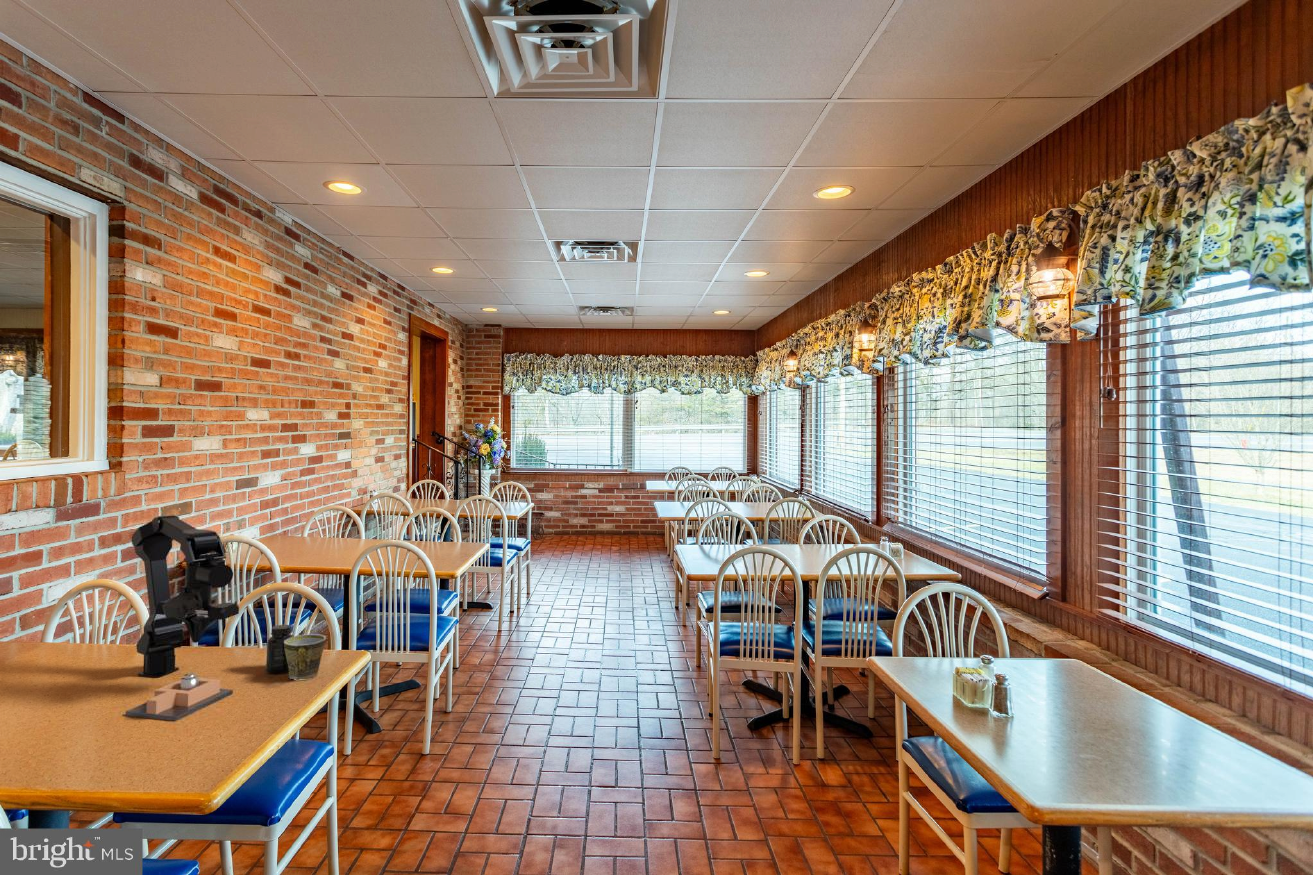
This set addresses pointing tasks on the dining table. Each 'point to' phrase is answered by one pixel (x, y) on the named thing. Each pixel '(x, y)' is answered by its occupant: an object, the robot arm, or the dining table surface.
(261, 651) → the dining table surface
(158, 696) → the square ring with tab
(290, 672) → the ceramic cup
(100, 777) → the dining table surface
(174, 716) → the base with metal peg
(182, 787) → the dining table surface
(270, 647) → the supplement bottle
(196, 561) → the robot arm
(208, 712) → the dining table surface
